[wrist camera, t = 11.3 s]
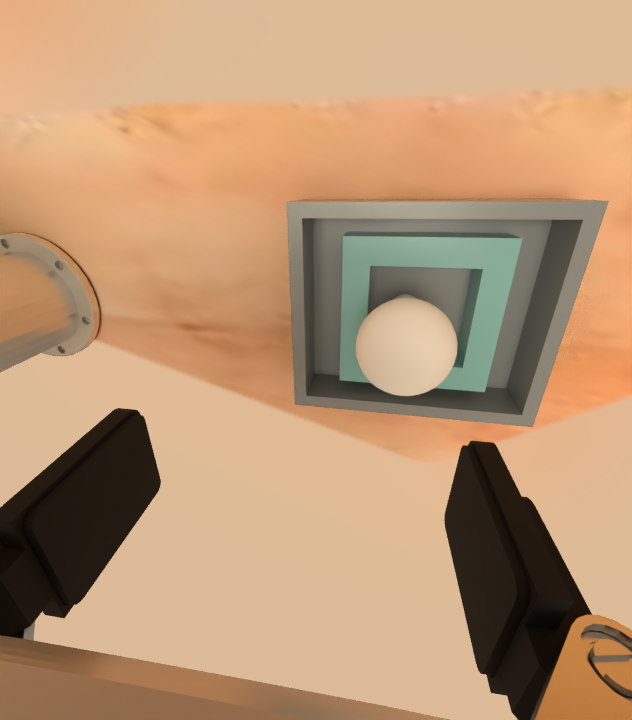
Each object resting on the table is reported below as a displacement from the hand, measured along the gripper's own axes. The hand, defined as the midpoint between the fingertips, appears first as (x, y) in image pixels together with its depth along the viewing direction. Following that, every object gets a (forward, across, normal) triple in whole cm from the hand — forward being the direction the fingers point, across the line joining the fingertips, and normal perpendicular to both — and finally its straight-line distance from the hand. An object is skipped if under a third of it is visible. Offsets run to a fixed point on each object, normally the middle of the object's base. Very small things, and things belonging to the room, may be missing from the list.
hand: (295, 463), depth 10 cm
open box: (+22, -6, +1) cm, 22 cm away
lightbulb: (+21, -5, +1) cm, 21 cm away
